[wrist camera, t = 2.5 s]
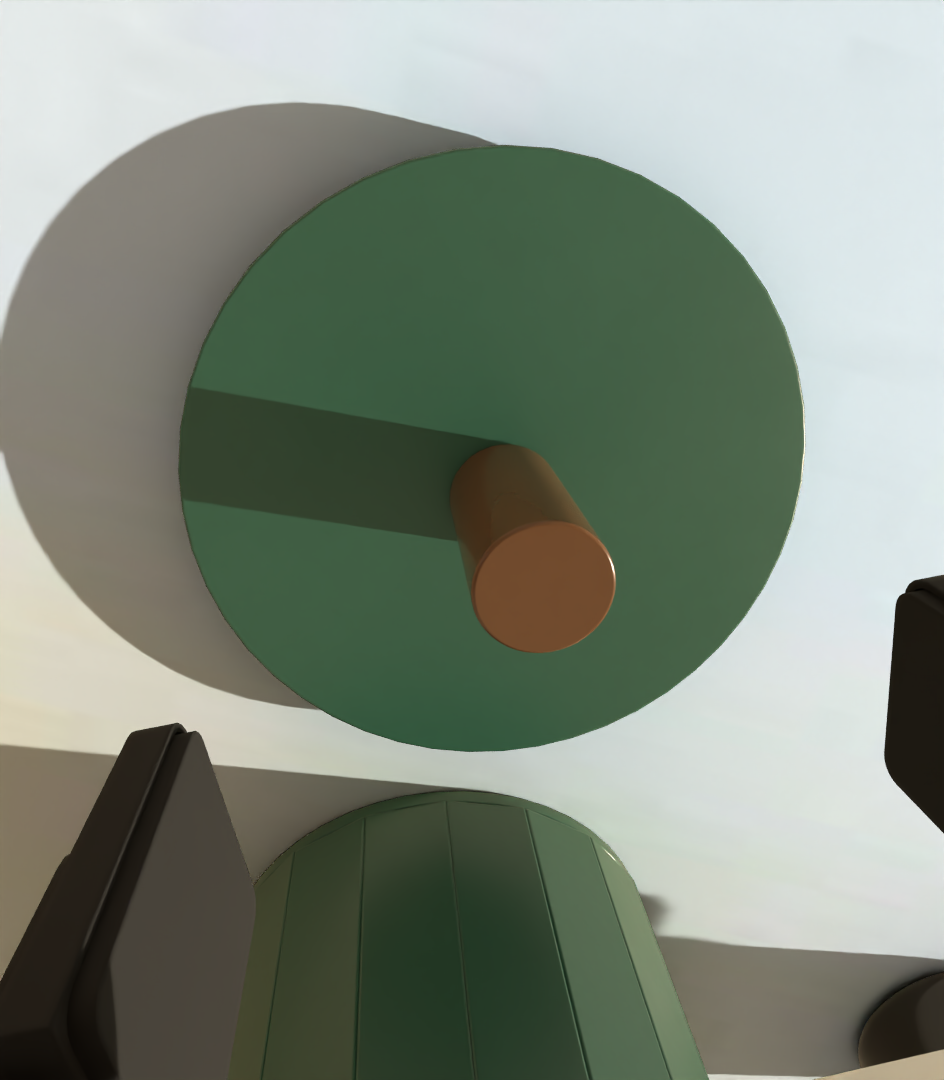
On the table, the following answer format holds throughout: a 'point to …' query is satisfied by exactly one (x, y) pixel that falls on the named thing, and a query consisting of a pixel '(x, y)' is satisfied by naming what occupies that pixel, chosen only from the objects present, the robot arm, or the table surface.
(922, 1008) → the supplement bottle
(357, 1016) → the tin
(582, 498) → the tin lid
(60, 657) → the table surface
